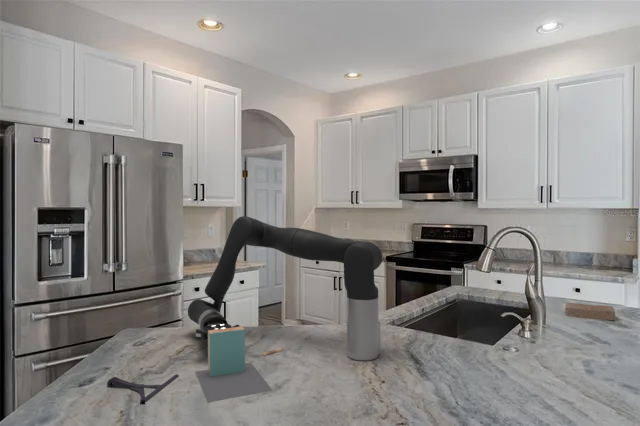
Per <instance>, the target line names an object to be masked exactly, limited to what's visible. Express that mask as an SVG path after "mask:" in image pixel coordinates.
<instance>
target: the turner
mask: <svg viewBox="0 0 640 426" xmlns="http://www.w3.org/2000/svg"><path fill="white" fill-rule="evenodd" d="M283 351H284V348H282V347H279V348H275V349H273V350H269V351H265V352H262V353H261V356H263V357H267V356H270V355H274V354H277V353H279V352H283Z"/></svg>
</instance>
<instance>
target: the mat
mask: <svg viewBox="0 0 640 426" xmlns="http://www.w3.org/2000/svg"><path fill="white" fill-rule="evenodd" d="M195 375H196V377H197V380H198V383H199V385H200V387H201V390H202V392H203V394H204V398H205V399H206V402H207V403H212V402H214V403H215V402H218V401H223V400H229V399H234V398H239V397H244V396H249V395H254V394H255V395H256V394H260V393H261V394H262V393H266V392H271V391H273V389H272V388H271V386H270V385H269V384H268V382H267V381H266V379H264V377H263V376H262V375H261V373H259V371H258V369H256V367H255V365H254V364H253V363H252V362H249V363H245V371H243V372H237V373H231V374H224V375H218V376H212V377H210V376H209V374H208V369H205V370H204V369H203V370H198V371H196V370H195Z"/></svg>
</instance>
